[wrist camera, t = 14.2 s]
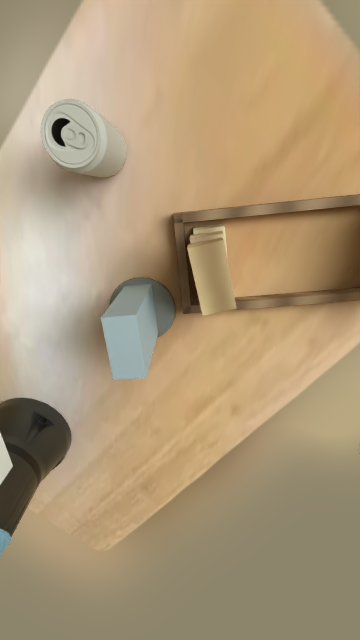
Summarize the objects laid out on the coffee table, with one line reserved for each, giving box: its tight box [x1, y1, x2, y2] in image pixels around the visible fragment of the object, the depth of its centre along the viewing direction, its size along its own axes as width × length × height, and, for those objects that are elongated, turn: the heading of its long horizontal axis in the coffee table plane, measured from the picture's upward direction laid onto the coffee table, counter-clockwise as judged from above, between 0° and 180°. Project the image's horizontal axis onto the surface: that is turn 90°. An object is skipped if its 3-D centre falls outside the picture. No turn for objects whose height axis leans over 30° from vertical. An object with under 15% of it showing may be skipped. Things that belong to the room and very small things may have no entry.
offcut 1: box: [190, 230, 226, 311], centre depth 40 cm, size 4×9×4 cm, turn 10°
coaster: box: [110, 278, 175, 337], centre depth 49 cm, size 10×10×1 cm
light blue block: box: [101, 284, 158, 380], centre depth 43 cm, size 4×8×13 cm, turn 6°
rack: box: [173, 194, 360, 314], centre depth 40 cm, size 28×14×10 cm, turn 96°
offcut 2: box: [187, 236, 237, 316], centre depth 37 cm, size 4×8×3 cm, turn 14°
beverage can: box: [41, 99, 126, 177], centre depth 36 cm, size 6×6×12 cm
